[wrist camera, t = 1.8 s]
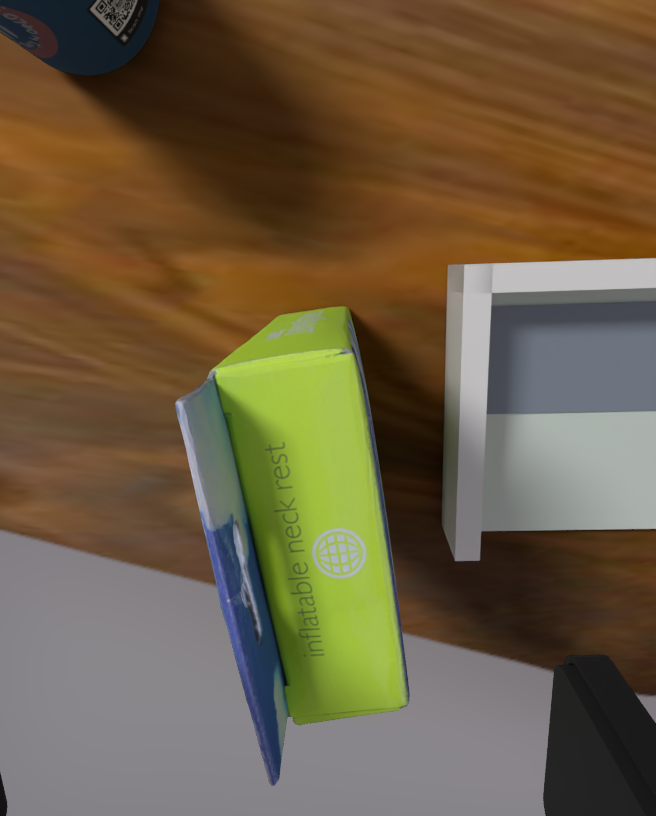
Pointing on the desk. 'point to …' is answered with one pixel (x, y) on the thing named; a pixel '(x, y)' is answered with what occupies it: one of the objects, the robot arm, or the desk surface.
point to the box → (298, 526)
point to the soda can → (80, 31)
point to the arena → (549, 398)
